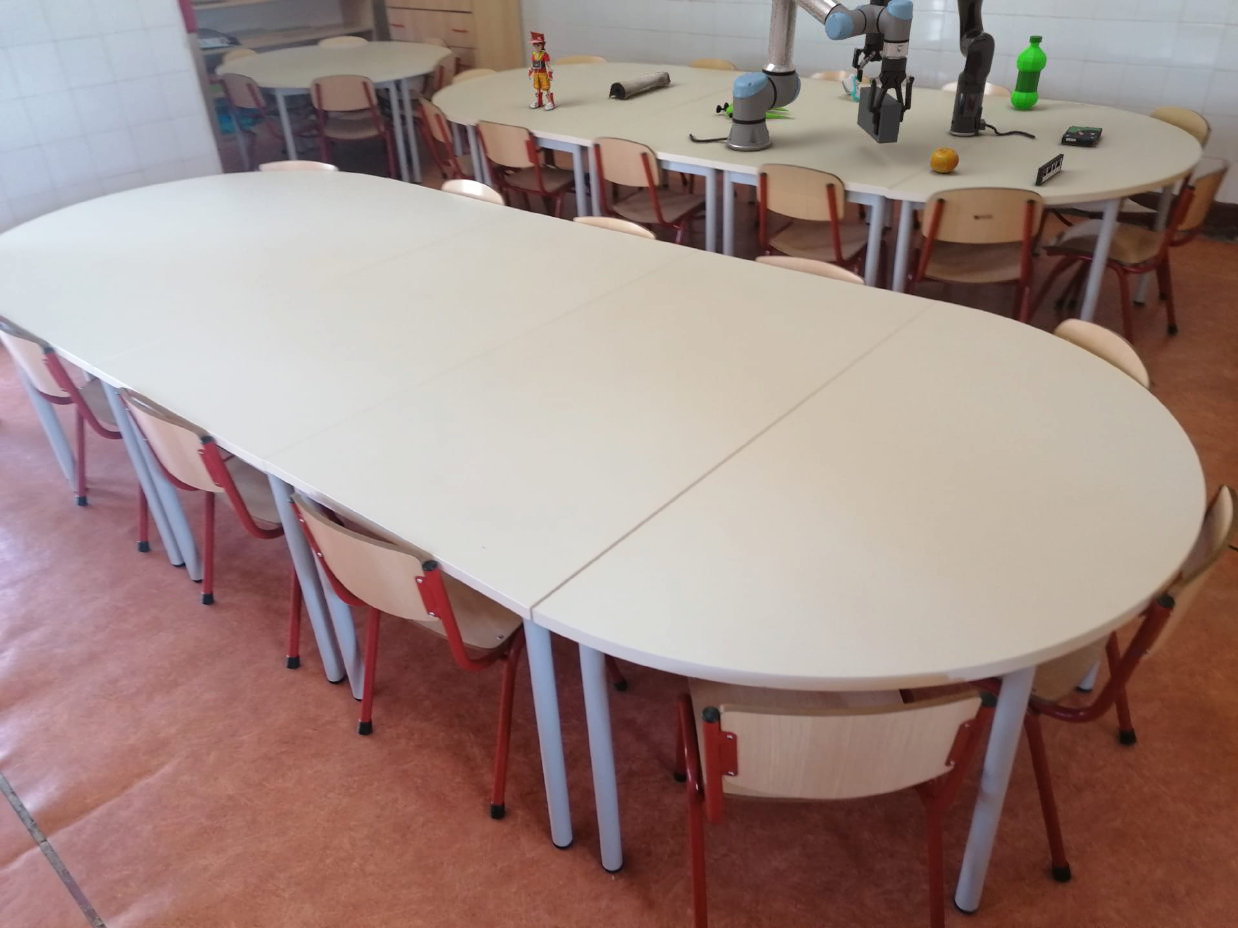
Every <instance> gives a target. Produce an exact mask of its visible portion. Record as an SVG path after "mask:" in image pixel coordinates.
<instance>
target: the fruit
mask: <svg viewBox="0 0 1238 928" xmlns="http://www.w3.org/2000/svg"><path fill="white" fill-rule="evenodd" d="M959 163H960V156H959V154H958V152H957V151H956V150H955V149H953V148H951V147H942V148H938V149H936V150H934V151H933V153H932V154H931V155H930V159H929V166H930V168H931V169H932V170H933V171H934V172H936V173H939V174H940V173H943V174H944V173H945V174H946V173H951V172H953V171H954V170H956V168H957V167H958V165H959Z"/></svg>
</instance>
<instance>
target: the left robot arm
mask: <svg viewBox="0 0 1238 928" xmlns="http://www.w3.org/2000/svg"><path fill="white" fill-rule="evenodd" d="M798 6H799V7H801V8H802V9H803V10H804V11H805V12H806V13H808V14H809V15H811V17H813V18H814V19H815V20H816V21H818V22H819V23H820V24H822V25H823V26H824V32H825V33H826V36H827V38H829V40H832V41H843V40H848V39H851V38H854V37H858V36H862V35H866V34H867V33H880V34H885V36H884V46H883V56H884V57H883V58H882V60H881V64H880V65H881V66H880V73H879V75H878V76H876V77H871V78H869V84H870V87H871V88H870V94H869V100H868V106H867V110H868V111H869V112H872V113H873V114H872V123H873V124H874V131H873V133H874V134H875V135H878V131H879V122H880V113H878V112H879V109H880V107H881V104H882V102H883V99H884V97H885V94H886V92H887V93H888V91H889V90H891V89H894V91H895V95H896V100H897V101H899V102H900V103H902V107H901V115H900V123H899V128H900V126H901V123H903V121H904V116H905V113H906V111H908V110H911V108H912V98H913V97H912V95H913V94H912V93H913V84H914V82H915V79H916V78H915V76H914V75H911V74H907V72H906V70H907V65H908V64H907V63H908V57H907V56H908V55H909V46H910V36H911V29H912V25H913V24H912V23H913V18H914V15H913V14H914V3H913V1H912V0H892V1H890V2H889V3H888V7H884V6H875V5H870V3H868V4H859V5H857V6H856V7H855V8H854V9H849V8H847V7H846V6H845V5H844V4H842V3H841V2H839V0H772V1H771V10H770V11H771V12H770V13H771V14H770V22H769V24H770V25H769V36H768V49H767V58H766V59H767V60H766V61H765V63H764V64H763V65H762V67H761V71H753V72H747V73H743V74H741V75H739V76H737V77H736V78H735V79H734V82H733V89H732V103H733V117H732V124H731V127H730V130H729V133H728V136H727V137H718V138H709V139H708V138H707V139H697V138H694V135H693V134H692V133H689V137H690V140H691V141H692V142H695V143H710V142H711V143H712V142H721V141H722V142H723V141H726V147H727V148H729V150H734V151H739V152H756V151H761V150H765V149H768V148H769V147H770V146H771V137H770V130H769V129H768V126H767V118H766V111H767V112H769V111H772V110H771V109H775V108H779V107H781V108H784V107H786V106H788V105H790V104H792V103H793V102H795V101H796V100H797V99H798V97H799V95H800V92H801V88H802V81H801V78H800V75H799V73H798V72H797V71H796V70H797V67H796V65H795V64H794V62H793V57H794V47H795V38H796V37H795V36H796V25H797V17H798ZM904 81H905V95H904V96H903V89H902V84H903V82H904ZM879 82H880V83H881V86H880V92H879V95H878V97H877V100H876V102H875V105H874V101H875V95H876V89H877V86H879ZM899 134H900V130H899V131H898V135H899Z"/></svg>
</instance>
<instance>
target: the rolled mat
mask: <svg viewBox="0 0 1238 928" xmlns="http://www.w3.org/2000/svg"><path fill="white" fill-rule="evenodd" d="M671 83H672V81H671V77H670V74H669V72H668V71H658V72H654V73H649V74H645V75H640V76H637V77H633V78H628V79H623V80H620V81H616V82H613V83H612V84H611V85H610V89H609V95H608V97H609V98H611V97H616V99H620V100H622V101H623V100H626V99H627V98H629V97H630V96H632V95H635V94H636V93H638V92H640V91H643V90H644V89H647V88H650V87H655V86H658V87H659V86H661V87H665V86H669V85H670V84H671Z"/></svg>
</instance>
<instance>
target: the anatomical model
mask: <svg viewBox="0 0 1238 928" xmlns="http://www.w3.org/2000/svg"><path fill="white" fill-rule="evenodd" d="M841 84H842V88H843V89H844V92H845V93H846V94H849V95H851V97H852V99H853V100H854V101H855V102H859V99H860V88H859V86H860V84H861V82H859V81H858V80H857V75H856V74H854V72H850V73H849V75H848V77H845V78H842V79H841ZM865 87H870V86H869V85H867V86H865Z"/></svg>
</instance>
